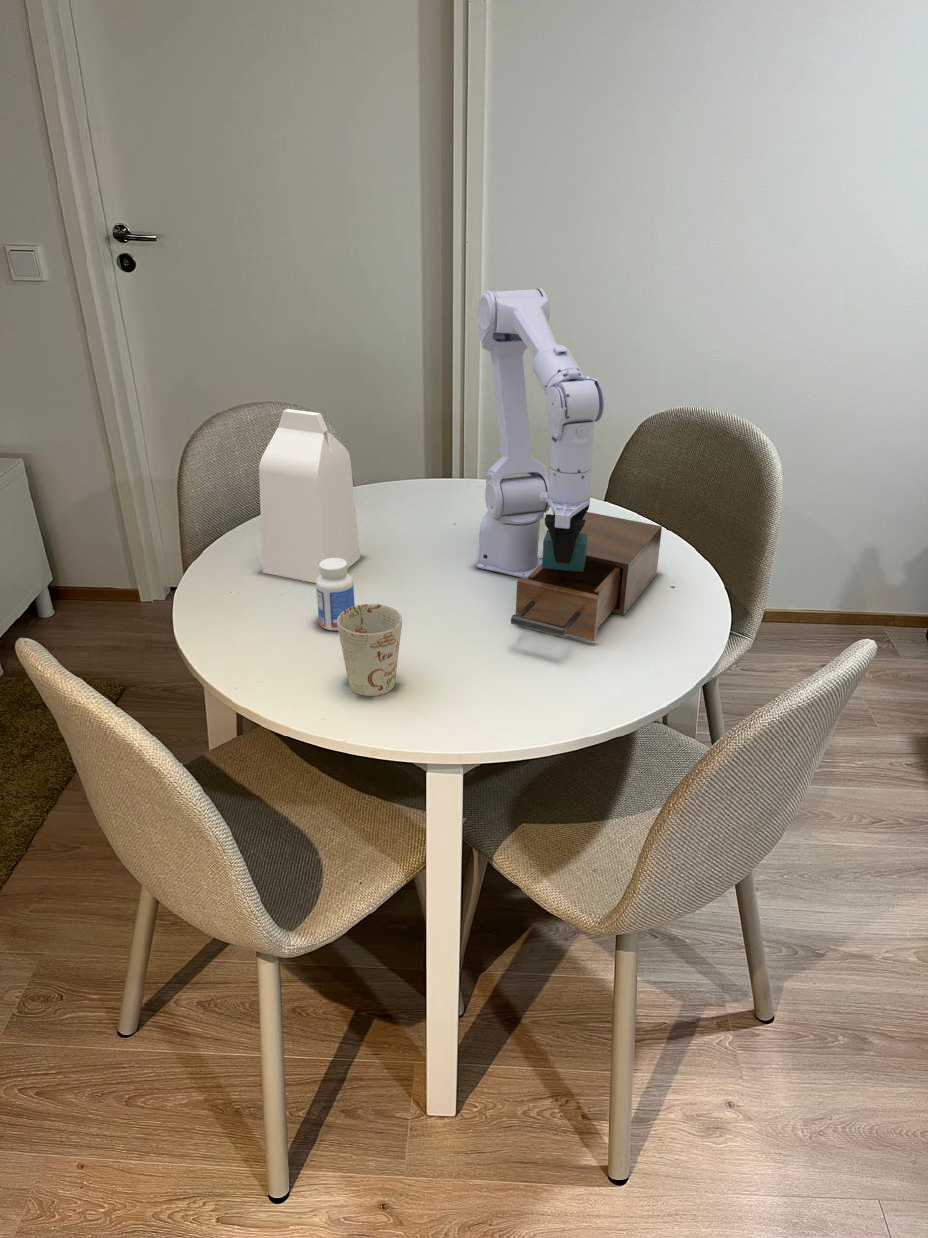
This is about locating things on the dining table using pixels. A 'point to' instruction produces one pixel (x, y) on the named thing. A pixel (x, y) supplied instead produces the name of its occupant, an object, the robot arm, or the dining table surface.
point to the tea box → (577, 557)
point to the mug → (370, 647)
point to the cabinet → (624, 552)
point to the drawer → (568, 599)
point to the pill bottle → (333, 591)
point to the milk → (306, 499)
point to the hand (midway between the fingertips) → (564, 555)
